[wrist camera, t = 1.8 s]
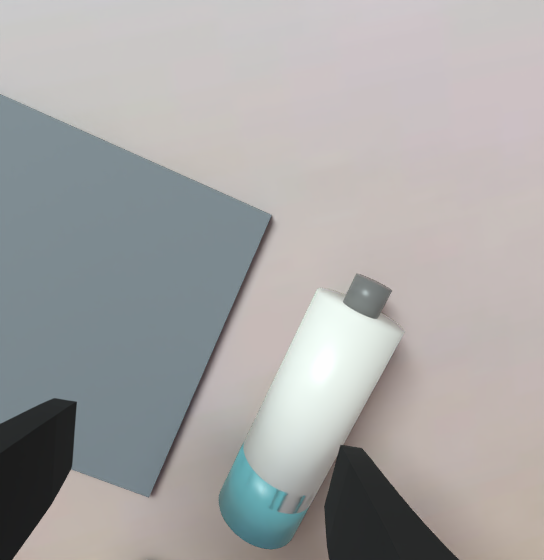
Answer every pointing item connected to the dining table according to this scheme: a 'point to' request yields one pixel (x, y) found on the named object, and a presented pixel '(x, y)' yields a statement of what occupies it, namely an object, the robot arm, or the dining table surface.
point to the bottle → (309, 412)
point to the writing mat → (110, 289)
